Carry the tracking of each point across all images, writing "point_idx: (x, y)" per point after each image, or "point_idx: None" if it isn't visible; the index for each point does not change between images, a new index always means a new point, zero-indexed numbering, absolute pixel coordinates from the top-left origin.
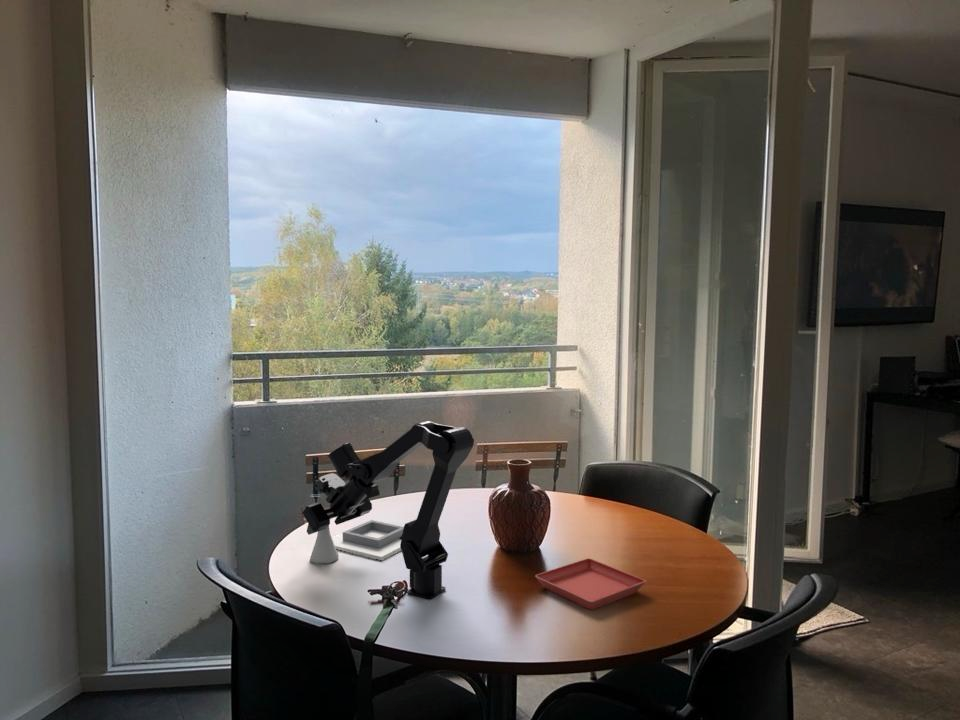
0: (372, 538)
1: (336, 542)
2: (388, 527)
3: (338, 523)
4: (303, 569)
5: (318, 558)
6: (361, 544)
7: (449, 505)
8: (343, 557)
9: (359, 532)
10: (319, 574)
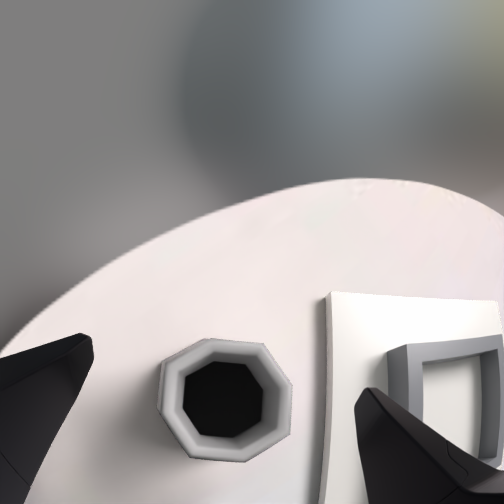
0: None
1: (360, 346)
2: (495, 415)
3: (358, 429)
4: (95, 378)
5: (159, 406)
6: None
7: None
8: (273, 453)
9: (449, 360)
10: (84, 455)
